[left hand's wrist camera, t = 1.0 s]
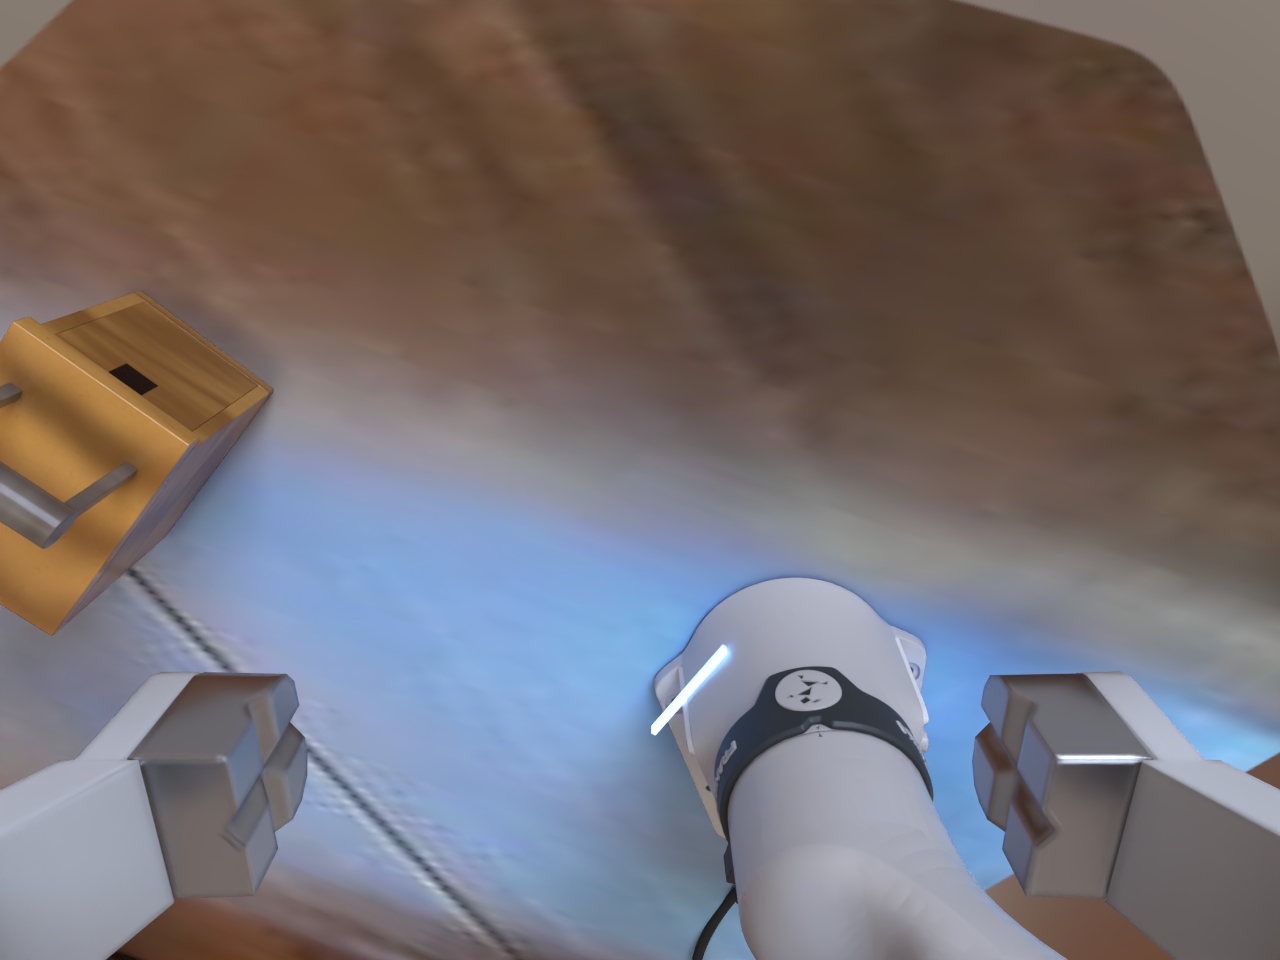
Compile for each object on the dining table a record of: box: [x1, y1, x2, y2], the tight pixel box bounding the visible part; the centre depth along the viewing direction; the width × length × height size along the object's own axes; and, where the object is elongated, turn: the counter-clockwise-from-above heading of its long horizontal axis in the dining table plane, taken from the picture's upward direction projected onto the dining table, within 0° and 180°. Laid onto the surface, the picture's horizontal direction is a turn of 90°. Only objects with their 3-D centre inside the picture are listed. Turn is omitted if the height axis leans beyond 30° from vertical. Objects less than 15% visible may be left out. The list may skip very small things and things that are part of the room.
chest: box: [41, 291, 273, 622], centre depth 51 cm, size 13×9×11 cm
